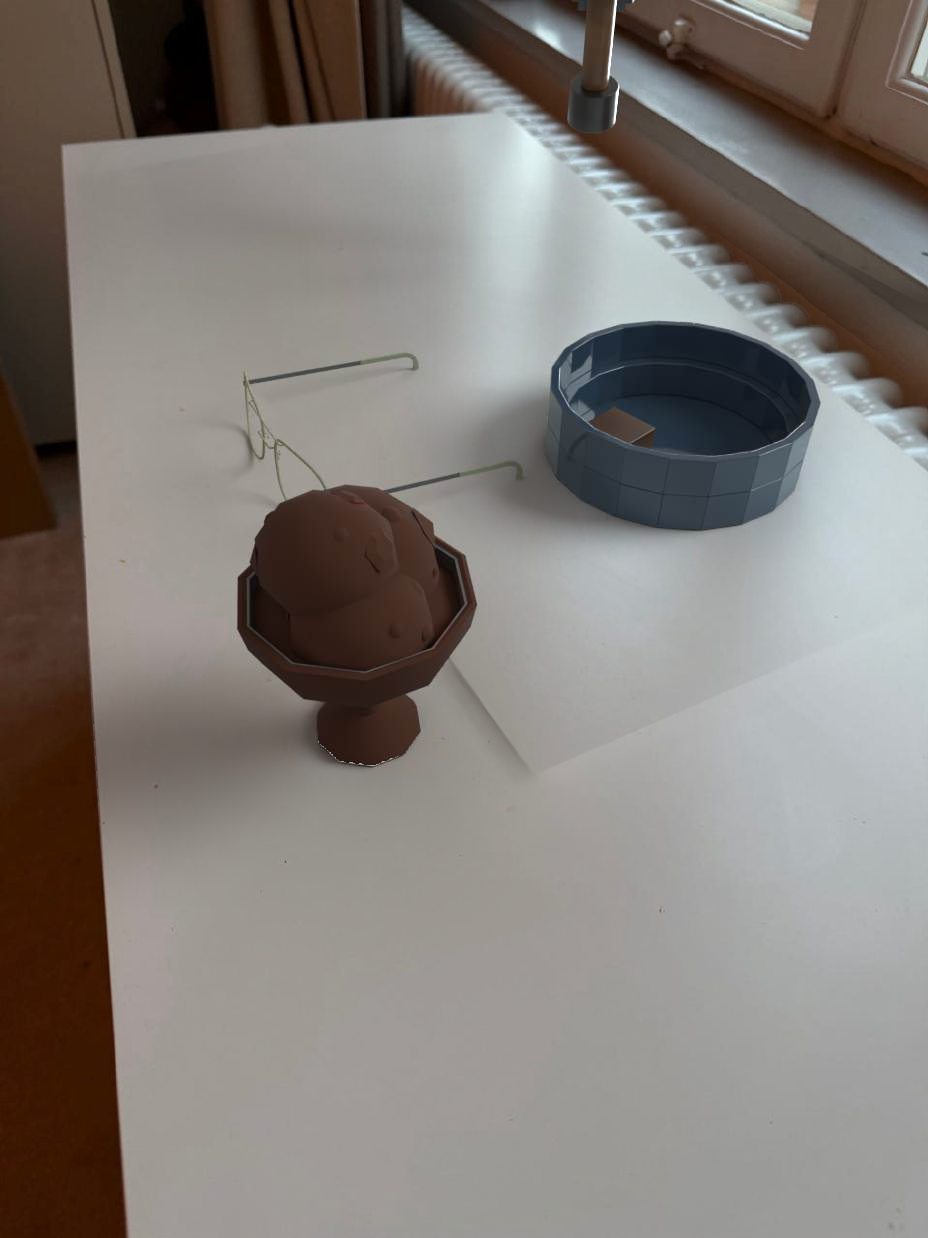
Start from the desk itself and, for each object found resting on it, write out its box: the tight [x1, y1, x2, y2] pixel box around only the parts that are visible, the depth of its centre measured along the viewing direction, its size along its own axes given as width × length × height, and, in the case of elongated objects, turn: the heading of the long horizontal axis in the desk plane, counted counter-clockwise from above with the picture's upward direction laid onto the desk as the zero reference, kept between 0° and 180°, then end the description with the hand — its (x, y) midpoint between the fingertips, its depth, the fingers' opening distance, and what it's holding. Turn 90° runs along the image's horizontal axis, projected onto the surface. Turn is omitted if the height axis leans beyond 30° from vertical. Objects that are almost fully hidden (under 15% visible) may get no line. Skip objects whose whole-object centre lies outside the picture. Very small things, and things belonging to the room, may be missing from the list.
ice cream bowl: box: [236, 483, 478, 765], centre depth 47 cm, size 11×11×15 cm
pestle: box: [567, 0, 620, 134], centre depth 78 cm, size 4×4×14 cm
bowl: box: [544, 320, 822, 531], centre depth 67 cm, size 17×17×6 cm
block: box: [588, 407, 655, 449], centre depth 65 cm, size 4×4×4 cm
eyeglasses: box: [242, 351, 524, 501], centre depth 68 cm, size 16×15×5 cm
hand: (602, 3), depth 74 cm, fingers closed on pestle, 2 cm apart
